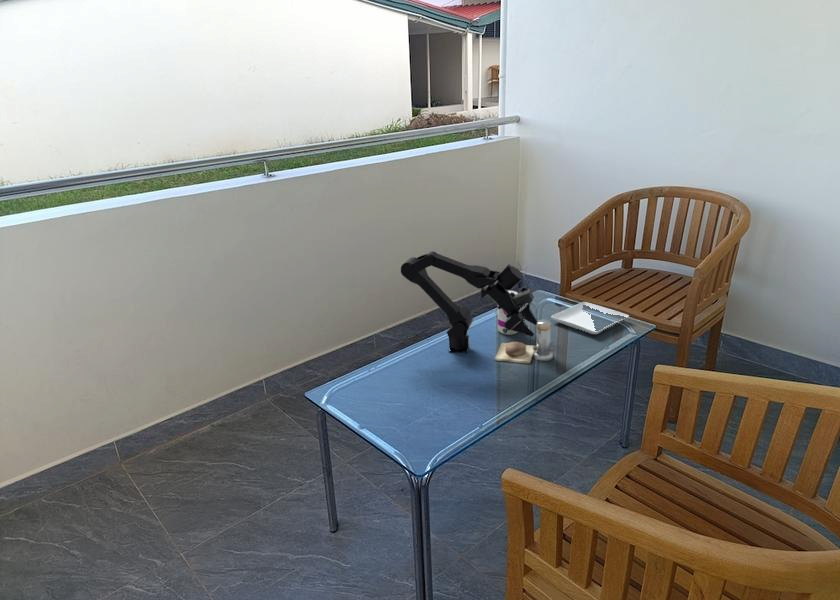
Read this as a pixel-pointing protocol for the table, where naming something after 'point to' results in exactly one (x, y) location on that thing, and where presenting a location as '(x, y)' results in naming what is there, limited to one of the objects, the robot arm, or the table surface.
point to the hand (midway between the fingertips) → (535, 329)
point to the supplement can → (502, 320)
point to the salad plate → (584, 317)
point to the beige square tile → (515, 352)
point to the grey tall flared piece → (543, 341)
